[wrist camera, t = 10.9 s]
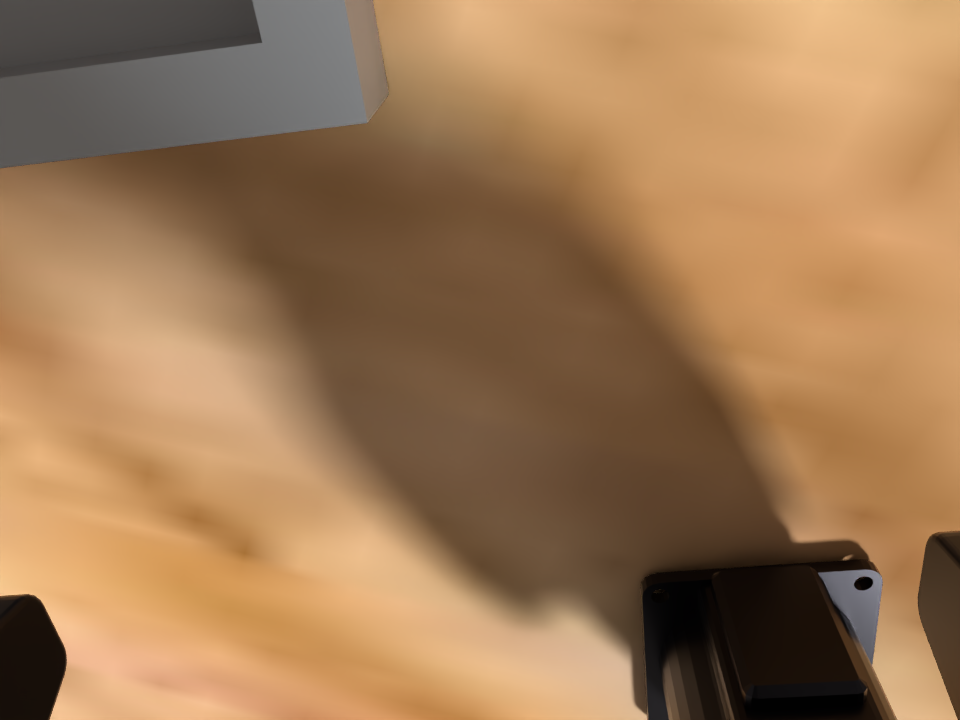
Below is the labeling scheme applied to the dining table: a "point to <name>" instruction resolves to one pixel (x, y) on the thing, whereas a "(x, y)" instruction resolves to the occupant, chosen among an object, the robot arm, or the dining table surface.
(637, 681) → the dining table surface
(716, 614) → the robot arm
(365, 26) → the tray
